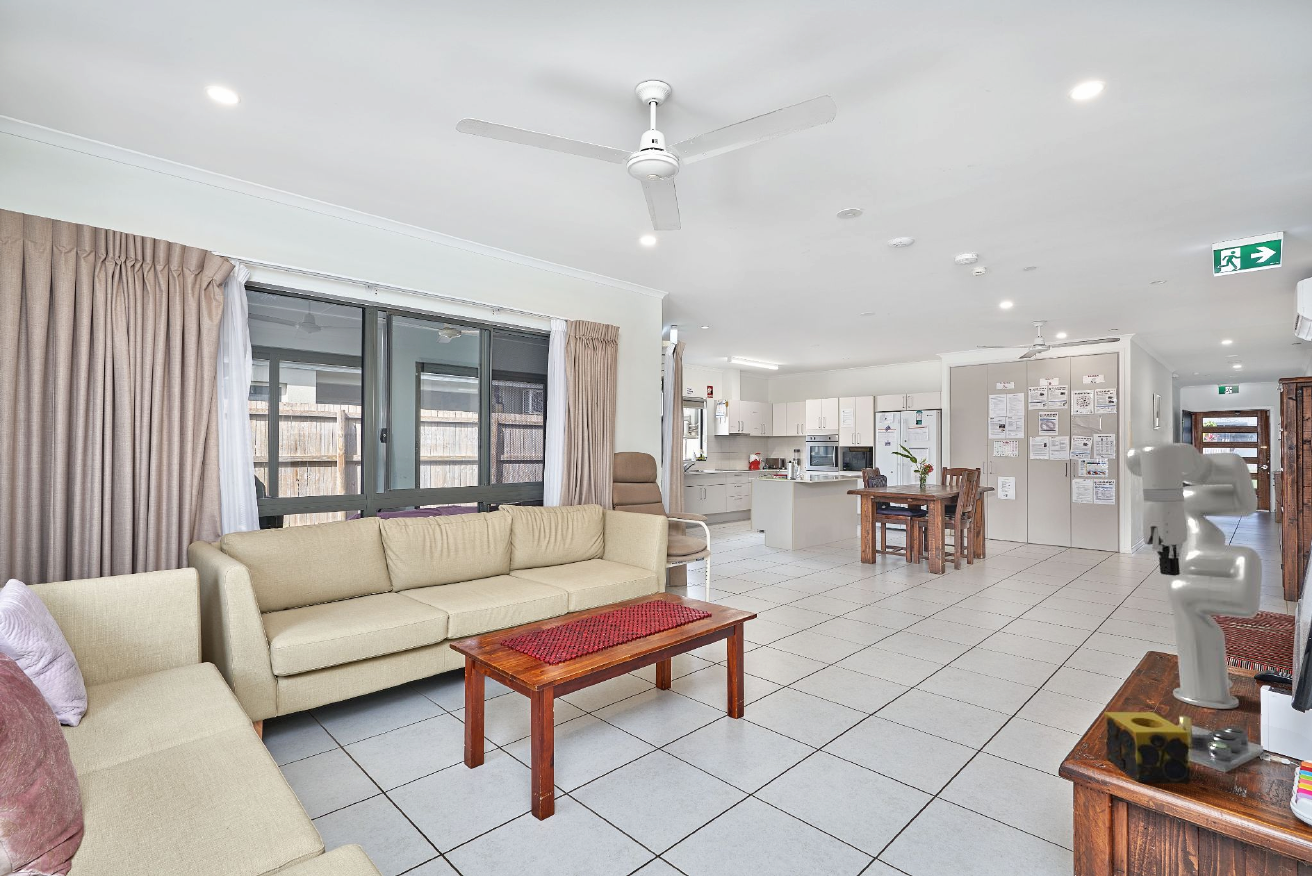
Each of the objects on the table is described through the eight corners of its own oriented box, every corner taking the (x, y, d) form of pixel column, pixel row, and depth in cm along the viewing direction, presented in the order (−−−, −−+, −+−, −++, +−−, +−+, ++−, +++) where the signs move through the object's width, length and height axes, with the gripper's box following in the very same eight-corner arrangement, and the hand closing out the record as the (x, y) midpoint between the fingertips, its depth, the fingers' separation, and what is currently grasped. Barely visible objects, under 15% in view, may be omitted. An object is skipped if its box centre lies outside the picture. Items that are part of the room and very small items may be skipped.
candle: (1105, 759, 132) (1101, 711, 133) (1157, 759, 131) (1152, 711, 132) (1137, 784, 122) (1133, 731, 123) (1193, 784, 121) (1188, 731, 122)
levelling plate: (1185, 729, 145) (1183, 711, 145) (1264, 752, 132) (1262, 732, 132) (1145, 746, 137) (1143, 727, 138) (1225, 772, 125) (1223, 751, 125)
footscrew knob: (1230, 741, 134) (1227, 714, 134) (1247, 752, 129) (1245, 723, 129) (1174, 740, 136) (1172, 712, 136) (1189, 750, 131) (1187, 722, 131)
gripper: (1162, 494, 155) (1168, 569, 154) (1127, 498, 149) (1134, 576, 148) (1198, 494, 149) (1205, 573, 148) (1164, 499, 142) (1171, 580, 141)
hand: (1170, 574), depth 148 cm, fingers closed
